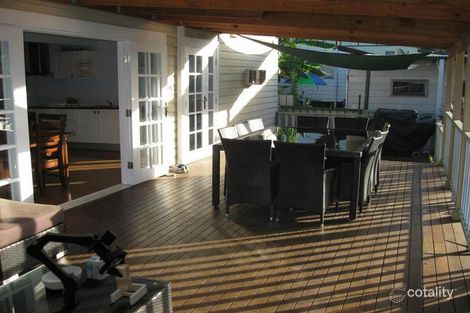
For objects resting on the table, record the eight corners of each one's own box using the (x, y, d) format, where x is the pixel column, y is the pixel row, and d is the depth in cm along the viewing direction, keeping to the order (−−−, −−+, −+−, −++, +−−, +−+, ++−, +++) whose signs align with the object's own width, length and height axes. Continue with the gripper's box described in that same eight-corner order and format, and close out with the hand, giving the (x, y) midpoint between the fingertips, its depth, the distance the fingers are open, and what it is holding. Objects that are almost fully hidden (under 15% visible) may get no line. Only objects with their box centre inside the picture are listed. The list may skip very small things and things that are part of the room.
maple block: (126, 289, 229) (123, 268, 227) (117, 289, 231) (114, 268, 229) (131, 285, 233) (129, 264, 231) (123, 284, 235) (120, 263, 233)
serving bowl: (89, 276, 266) (87, 265, 265) (73, 293, 246) (71, 281, 245) (54, 277, 269) (52, 266, 267) (35, 295, 248) (33, 283, 247)
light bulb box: (87, 278, 264) (84, 260, 262) (96, 273, 270) (93, 255, 268) (101, 280, 259) (99, 262, 257) (110, 275, 265) (107, 257, 263)
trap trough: (132, 305, 227) (131, 297, 226) (111, 302, 232) (110, 295, 231) (147, 291, 240) (146, 284, 239) (127, 289, 244) (126, 282, 244)
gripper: (100, 249, 220) (123, 272, 219) (122, 235, 238) (143, 257, 236) (88, 264, 224) (111, 287, 223) (110, 249, 242) (132, 270, 240)
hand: (125, 274), depth 230 cm, fingers closed on maple block, 5 cm apart
